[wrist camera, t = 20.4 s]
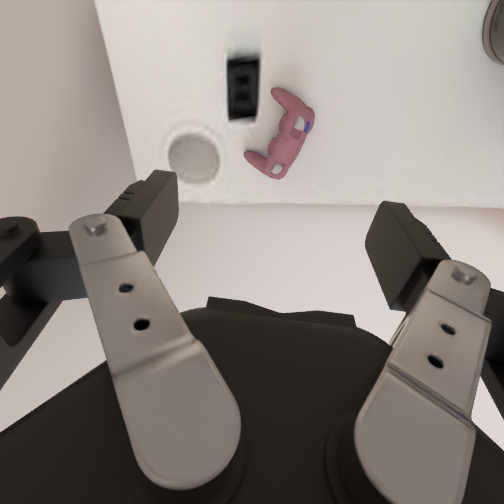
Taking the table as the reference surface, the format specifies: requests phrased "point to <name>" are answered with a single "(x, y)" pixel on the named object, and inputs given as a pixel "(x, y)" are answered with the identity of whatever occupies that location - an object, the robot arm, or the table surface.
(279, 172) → the video game controller
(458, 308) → the robot arm
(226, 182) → the table surface
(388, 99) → the table surface
